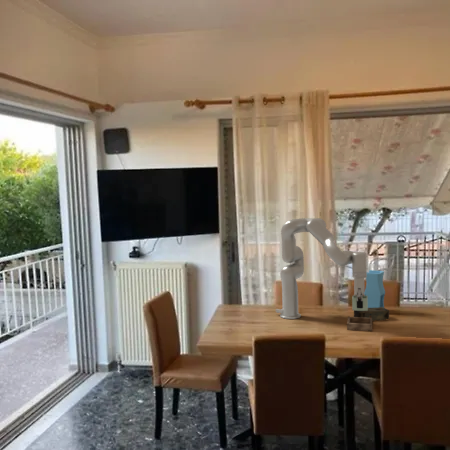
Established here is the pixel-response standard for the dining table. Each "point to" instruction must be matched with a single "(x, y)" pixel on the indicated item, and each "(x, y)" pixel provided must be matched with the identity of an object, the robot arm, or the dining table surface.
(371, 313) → the beverage carton
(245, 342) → the dining table surface
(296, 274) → the robot arm
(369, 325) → the walnut crate
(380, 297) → the vase
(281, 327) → the dining table surface
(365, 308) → the small crate
